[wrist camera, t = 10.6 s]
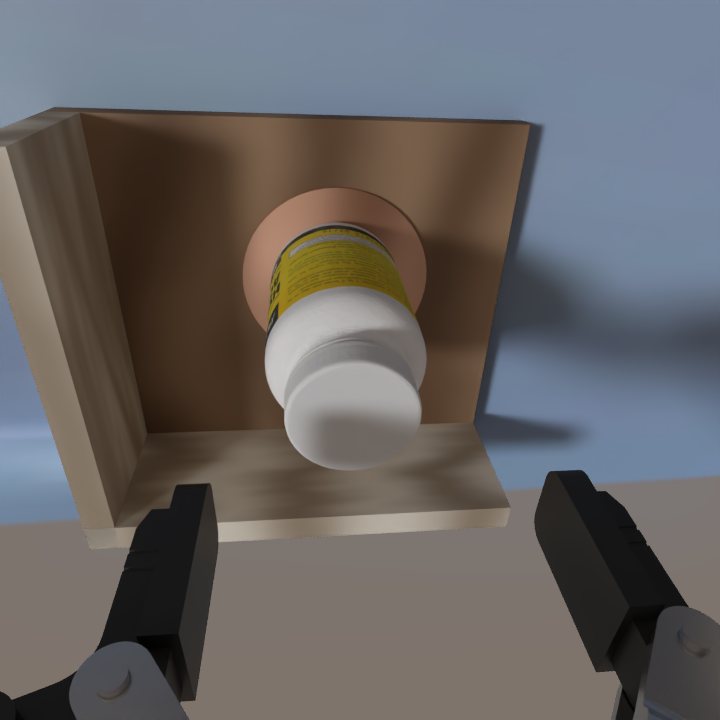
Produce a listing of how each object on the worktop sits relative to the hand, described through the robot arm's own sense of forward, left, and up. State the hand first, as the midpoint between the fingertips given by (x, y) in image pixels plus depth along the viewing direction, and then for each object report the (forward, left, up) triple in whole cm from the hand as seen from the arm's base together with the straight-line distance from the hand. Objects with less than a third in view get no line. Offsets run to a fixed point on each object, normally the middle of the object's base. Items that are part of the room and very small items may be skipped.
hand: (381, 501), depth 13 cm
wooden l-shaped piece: (+2, 0, -14) cm, 14 cm away
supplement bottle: (0, 0, -13) cm, 13 cm away
